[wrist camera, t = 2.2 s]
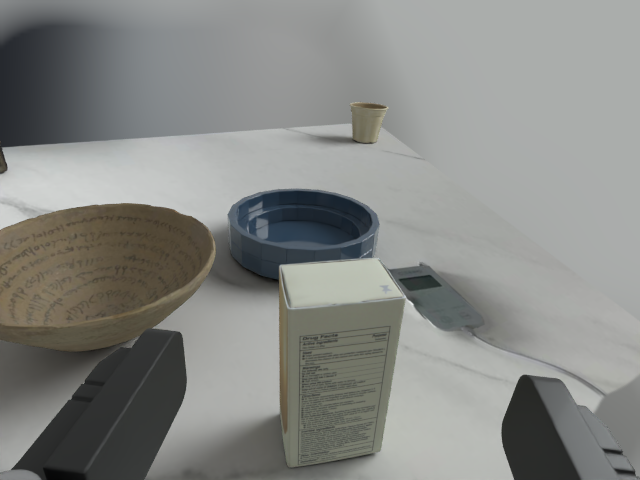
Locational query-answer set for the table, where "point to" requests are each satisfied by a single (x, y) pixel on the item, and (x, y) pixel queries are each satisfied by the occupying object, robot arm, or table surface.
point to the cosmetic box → (336, 357)
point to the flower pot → (367, 121)
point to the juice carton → (2, 161)
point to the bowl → (98, 274)
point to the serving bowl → (299, 229)
